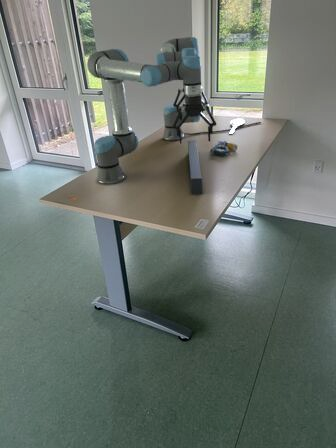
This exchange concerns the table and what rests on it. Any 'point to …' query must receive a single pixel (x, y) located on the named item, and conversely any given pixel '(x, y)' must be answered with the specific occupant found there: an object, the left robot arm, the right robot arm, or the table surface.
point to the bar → (194, 168)
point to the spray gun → (223, 148)
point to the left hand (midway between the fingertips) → (194, 141)
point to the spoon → (236, 124)
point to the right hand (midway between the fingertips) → (191, 117)
